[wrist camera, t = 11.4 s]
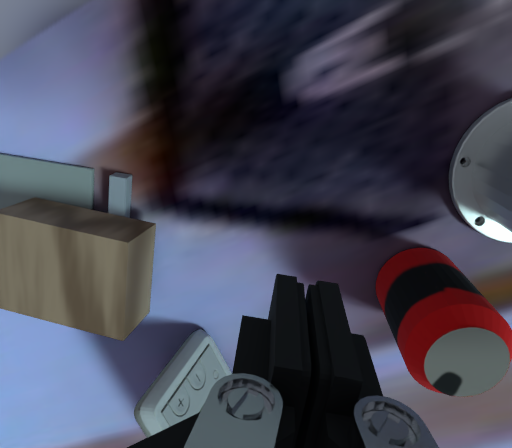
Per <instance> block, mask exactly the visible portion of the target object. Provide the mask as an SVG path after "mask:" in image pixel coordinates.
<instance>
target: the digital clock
mask: <svg viewBox="0 0 512 448" xmlns="http://www.w3.org/2000/svg"><path fill="white" fill-rule="evenodd" d="M231 374H232V373H231V371H230V370H229V368H228V366H227V364H226V362H225V360H224V358H223V357H222V355H221V353H220V351H219V349H218V348H217V346H216V344H215V342H214V341H213V339H212V338H211V337H210V336H209V335H208V334H207V333H206V332H205V331H203V330H202V329H199V330H196V331H194V332H193V333H192V334H191V335H190V336H189V337H188V338H187V339H186V341H185V342H184V343H183V344H182V346H181V347H180V348H179V350H178V351H177V352H176V353H175V355H174V356H173V357H172V359H171V360H170V361H169V363H168V364H167V365H166V366H165V368H164V369H163V370H162V372H161V373H160V374H159V375H158V377H157V378H156V379H155V381H154V382H153V383H152V384H151V386H150V387H149V388H148V390H147V391H146V392H145V393H144V395H143V396H142V398H141V399H140V400H139V402H138V403H137V405H136V407H135V410H134V416H135V419H136V421H137V423H138V424H139V426H140V427H141V429H142V431H143V432H144V434H145V435H146V437H147V438H148V437H150V436H152V435H154V434H156V433H158V432H160V431H162V430H164V429H166V428H168V427H170V426H172V425H174V424H176V423H178V422H181V421H183V420H185V419H187V418H189V417H191V416H193V415H195V414H197V413H199V412H201V410H202V407H203V405H204V403H205V401H206V399H207V397H208V395H209V392H210V390H211V388H212V387H213V385H214V384H215V383H216V382H217V381H218V380H220V379H221V378H223V377H225V376H228V375H231Z"/></svg>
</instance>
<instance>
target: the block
mask: <svg viewBox="0 0 512 448" xmlns="http://www.w3.org/2000/svg"><path fill="white" fill-rule="evenodd" d="M155 229H156V224H155V223H150V222H146V221H141V220H137V219H132V218H127V217H123V216H118V215H114V214H109V213H104V212H100V211H95V210H91V209H86V208H82V207H77V206H72V205H68V204H63V203H59V202H54V201H49V200H45V199H40V198H36V197H34V198H31V199H28V200H25V201H23V202H20V203H17V204H14V205H11V206H8V207H5V208H2V209H0V308H1V309H4V310H8V311H12V312H16V313H19V314H23V315H27V316H31V317H34V318H38V319H42V320H46V321H50V322H53V323H57V324H61V325H65V326H68V327H72V328H76V329H80V330H83V331H87V332H91V333H95V334H98V335H102V336H106V337H110V338H114V339H117V340H121V341H124V340H125V339H126V338H127V336H128V335H129V334H130V333H131V332H132V331H133V330H134V329H135V328H136V326H137V325H138V324H139V323H140V322H141V321H142V320H143V319H144V318H145V316H146V315H147V314H148V313H149V311H150V297H151V284H152V270H153V256H154V243H155Z"/></svg>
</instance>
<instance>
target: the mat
mask: <svg viewBox="0 0 512 448" xmlns="http://www.w3.org/2000/svg"><path fill="white" fill-rule="evenodd" d="M93 196H94V169H93V168H87V167H81V166H75V165H69V164H63V163H57V162H50V161H44V160H38V159H32V158H26V157H20V156H14V155H8V154H1V153H0V209H2V208H5V207H8V206H11V205H14V204H17V203H20V202H23V201H25V200H28V199H31V198H34V197H36V198H40V199H45V200H49V201H54V202H59V203H63V204H68V205H72V206H77V207H82V208H86V209H91V210H93Z"/></svg>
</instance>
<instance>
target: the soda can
mask: <svg viewBox="0 0 512 448" xmlns="http://www.w3.org/2000/svg"><path fill="white" fill-rule="evenodd" d="M376 295H377V298H378V300H379V303H380V305H381V307H382V310H383V312H384V315H385V317H386V319H387V322H388V324H389V326H390V329H391V331H392V333H393V336H394V338H395V340H396V343H397V345H398V347H399V350H400V352H401V355H402V357H403V359H404V362H405V364H406V366H407V369H408V371H409V372H410V374H411V375H412V377H413V378H414V379H415V380H416V381H417V382H418V383H419V384H421V385H422V386H424V387H426V388H427V389H430V390H432V391H435V392H438V393H443V394H447V395H450V396H455V397H470V396H475V395H479V394H482V393H484V392H486V391H489V390H490V389H492V388H493V387H495V386H496V385H497V384H498V383H499V382H500V381H501V380H502V379H503V377H504V376H505V375H506V373H507V371H508V368H509V364H510V361H511V359H512V330H511V328H510V326H509V325H508V323H507V322H506V320H505V319H504V318H503V317H502V316H501V315H500V314H499V313H498V312H497V311H496V310H495V308H494V307H493V306H492V305H491V304H490V303H489V302H488V301H487V300H486V299H485V297H484V296H483V295H482V294H481V293H480V292H479V291H478V290H477V289H476V288H475V286H474V285H473V284H472V283H471V282H470V281H469V280H468V279H467V278H466V277H465V275H464V274H463V273H462V272H461V271H460V270H459V269H458V268H457V267H456V266H455V265H454V263H453V262H452V261H451V260H450V259H449V258H448V257H447V256H445V255H444V254H442V253H441V252H438V251H436V250H433V249H428V248H413V249H408V250H405V251H402V252H400V253H398V254H396V255H395V256H393V257H392V258H391V259H389V260H388V261H387V262H386V263H385V264H384V266H383V267H382V268H381V270H380V272H379V274H378V277H377V280H376Z"/></svg>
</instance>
